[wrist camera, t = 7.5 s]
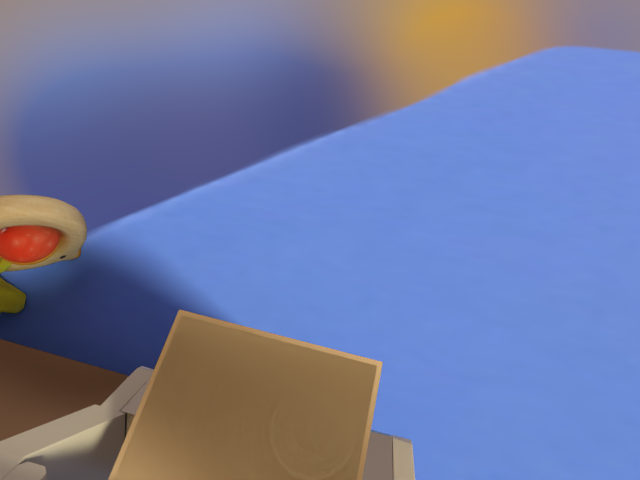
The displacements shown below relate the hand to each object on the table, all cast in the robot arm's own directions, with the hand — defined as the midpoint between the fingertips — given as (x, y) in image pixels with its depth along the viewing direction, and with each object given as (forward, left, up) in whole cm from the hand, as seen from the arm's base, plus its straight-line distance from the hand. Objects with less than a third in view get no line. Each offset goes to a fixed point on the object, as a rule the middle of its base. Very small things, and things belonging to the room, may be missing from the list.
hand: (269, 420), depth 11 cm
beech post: (0, 0, -7) cm, 7 cm away
